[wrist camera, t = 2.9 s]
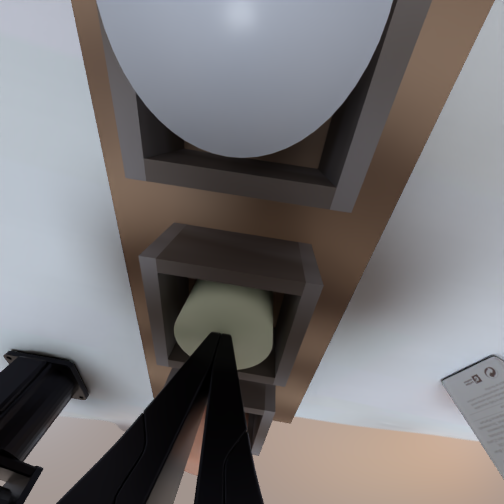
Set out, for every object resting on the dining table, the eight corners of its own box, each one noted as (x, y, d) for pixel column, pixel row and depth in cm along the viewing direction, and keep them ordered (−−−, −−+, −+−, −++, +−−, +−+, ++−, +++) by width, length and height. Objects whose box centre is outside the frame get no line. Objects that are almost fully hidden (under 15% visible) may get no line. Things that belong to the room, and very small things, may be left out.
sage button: (266, 323, 12) (264, 376, 10) (197, 312, 12) (176, 361, 10) (280, 265, 10) (281, 312, 8) (197, 252, 10) (170, 294, 8)
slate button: (313, 154, 6) (338, 173, 4) (181, 134, 6) (119, 140, 4) (366, -58, 4) (496, -324, 2) (173, -84, 4) (32, -372, 2)
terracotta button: (246, 424, 16) (239, 484, 13) (191, 415, 16) (174, 472, 13) (253, 396, 14) (247, 459, 11) (190, 385, 14) (170, 446, 11)
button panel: (289, 398, 20) (292, 471, 16) (164, 376, 21) (134, 442, 16) (502, -109, 6) (1062, -695, 2) (86, -160, 6) (-327, -785, 2)
